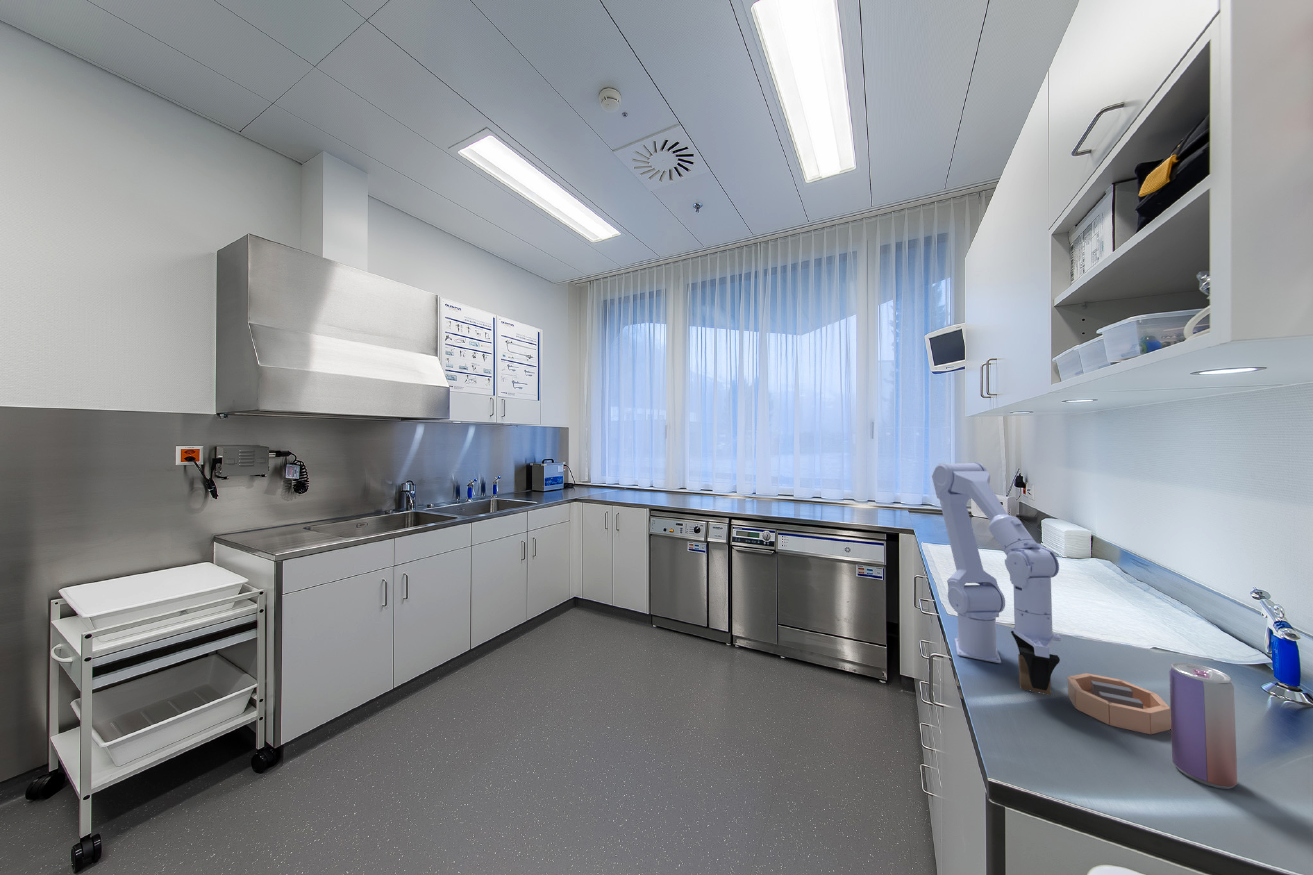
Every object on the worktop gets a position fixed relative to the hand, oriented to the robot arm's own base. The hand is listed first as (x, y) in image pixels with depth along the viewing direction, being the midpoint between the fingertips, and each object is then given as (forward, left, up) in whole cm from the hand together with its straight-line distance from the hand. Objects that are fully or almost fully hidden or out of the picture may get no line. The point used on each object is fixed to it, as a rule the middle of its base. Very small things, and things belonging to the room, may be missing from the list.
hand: (1034, 679), depth 87 cm
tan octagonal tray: (+2, +11, -2) cm, 11 cm away
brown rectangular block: (0, 0, -2) cm, 2 cm away
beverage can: (+17, +16, -2) cm, 23 cm away
